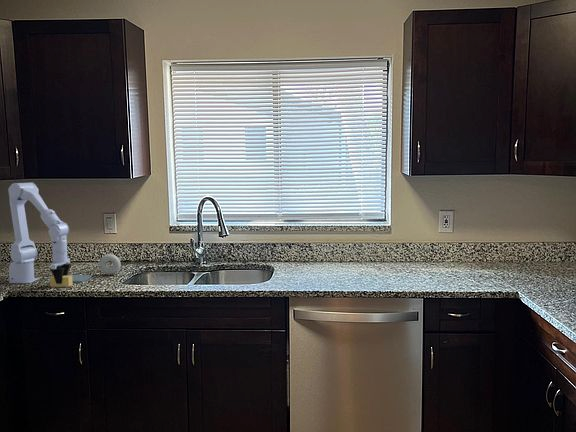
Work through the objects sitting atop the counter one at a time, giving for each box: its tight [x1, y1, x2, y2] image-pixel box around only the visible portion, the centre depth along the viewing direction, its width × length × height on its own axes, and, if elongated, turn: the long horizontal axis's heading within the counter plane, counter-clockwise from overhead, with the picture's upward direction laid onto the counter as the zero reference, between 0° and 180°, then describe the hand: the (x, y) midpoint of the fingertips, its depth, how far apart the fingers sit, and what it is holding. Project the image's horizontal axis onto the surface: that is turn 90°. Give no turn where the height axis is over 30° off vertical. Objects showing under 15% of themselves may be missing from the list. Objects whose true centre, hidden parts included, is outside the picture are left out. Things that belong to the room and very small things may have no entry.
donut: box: [98, 253, 122, 276], centre depth 242 cm, size 10×4×10 cm, turn 92°
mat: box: [67, 274, 93, 284], centre depth 232 cm, size 14×12×1 cm
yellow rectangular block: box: [49, 275, 74, 288], centre depth 221 cm, size 8×4×4 cm, turn 90°
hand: (61, 282), depth 221 cm, fingers closed on yellow rectangular block, 4 cm apart
